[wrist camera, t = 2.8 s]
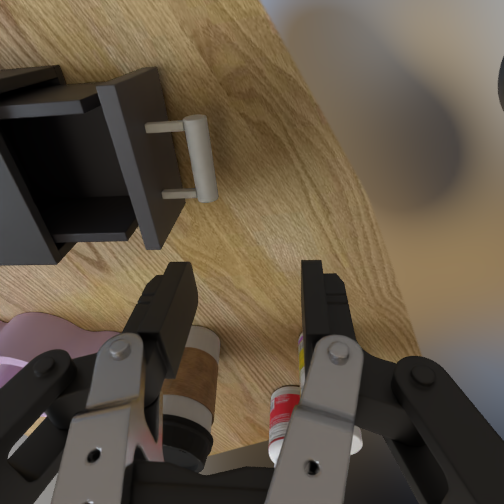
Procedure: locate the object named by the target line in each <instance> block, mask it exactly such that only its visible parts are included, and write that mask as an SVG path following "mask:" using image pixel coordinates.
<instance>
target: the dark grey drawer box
mask: <svg viewBox="0 0 504 504" xmlns="http://www.w3.org/2000/svg"><path fill="white" fill-rule="evenodd" d="M58 85H66V83H65V80H64V77H63V74H62V71H61V69H60V66H59V65H52V66H40V67H29V68H17V69H6V70H0V94H1V93H5V92H8V91H12V90H15V89H21V88H33V87H46V86H58ZM76 243H77V242H60V243H54V241H53V239H52V237H51V235H50V233H49V231H48V229H47V227H46V225H45V223H44V221H43V219H42V216H41V214H40V212H39V210H38V208H37V206H36V204H35V202H34V200H33V198H32V196H31V194H30V192H29V190H28V188H27V186H26V184H25V182H24V180H23V178H22V176H21V174H20V172H19V169H18V167H17V165H16V163H15V161H14V159H13V157H12V155H11V153H10V151H9V149H8V147H7V145H6V143H5V141H4V139H3V137H2V135H1V133H0V265H57V264H58V263H59V262H60V261H61V260H62V258H63V257H64V256H65V255H66V254H67V253H68V252H69V251H70V250H71V249H72V247H73V246H74V245H75V244H76Z"/></svg>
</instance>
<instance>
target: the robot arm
mask: <svg viewBox="0 0 504 504" xmlns="http://www.w3.org/2000/svg"><path fill="white" fill-rule="evenodd" d="M197 306H198V291H197V287H196V282H195V278H194V274H193V269H192V265H191V263H190V262H170V263H169V264H168V266H167V268H166V270H165V272H164V275H156V276H155V277H154V278H153V279H152V280H151V281H150V282H149V283H147V285H146V287H145V289H144V291H143V293H142V296H140V298H139V300H138V304H136V306H135V308H134V310H133V312H132V314H131V316H130V318H129V320H128V322H127V324H126V326H125V327H124V329H123V331H122V333H121V334H118V335H115V336H113V337H111V338H110V339H108V340H107V341H106V342H105V343H104V344H103V345H102V346H101V347H100V349H99V351H98V352H97V353H94V354H90V355H86V356H82V357H78V358H74V359H72V358H71V356H70V355H69V353H68V352H67V351H65V350H62V349H54V350H49V351H46V352H44V353H42V354H40V355H38V356H36V357H35V358H33V359H32V360H31V361H30V362H29V363H28V364H27V365H25V366H24V367H23V368H22V369H21V370H20V371H19V372H18V373H17V374H16V375H15V376H13V377H12V378H11V379H10V380H9V381H8V382H7V383H6V384H5V385H4V386H3V387H1V388H0V504H33V503H34V502H35V501H36V500H37V498H38V497H39V496H40V494H41V493H42V492H43V491H44V489H45V488H46V487H47V485H48V484H49V483H50V482H51V480H52V479H53V478H54V476H55V475H56V474H57V473H58V476H57V480H56V484H55V488H54V492H53V496H52V500H51V504H343V502H344V495H345V488H346V481H347V474H348V467H349V460H350V453H351V446H352V439H353V432H354V426H357V427H360V428H362V429H365V430H368V431H371V432H373V433H376V434H379V435H382V436H383V438H384V440H385V441H386V443H387V445H388V447H389V449H390V450H391V453H392V454H393V456H394V458H395V460H396V462H397V464H398V465H399V467H400V469H401V471H402V473H403V475H404V476H405V478H406V480H407V482H408V484H409V486H410V488H411V490H412V491H413V493H414V495H415V497H416V499H417V501H418V503H419V504H504V441H503V440H502V438H501V437H500V436H499V435H498V434H497V432H496V431H495V430H494V429H493V428H492V426H491V425H490V424H489V423H488V422H487V420H486V419H485V418H484V417H483V415H482V414H481V413H480V412H479V411H478V410H477V408H476V407H475V406H474V405H473V403H472V402H471V401H470V400H469V398H468V397H467V396H466V395H465V394H464V392H463V391H462V390H461V389H460V388H459V386H458V385H457V384H456V383H455V381H454V380H453V379H452V378H451V377H450V375H449V374H448V373H447V372H446V371H445V370H444V369H443V368H442V367H441V366H440V365H439V364H437V363H436V362H434V361H432V360H430V359H427V358H425V357H420V356H408V357H405V358H403V359H401V360H400V361H398V362H397V364H396V363H393V362H389V361H386V360H382V359H379V358H376V357H374V356H372V355H370V354H369V353H367V352H366V351H364V350H363V349H362V348H361V347H360V345H359V344H358V342H357V340H356V337H355V333H354V328H353V323H352V319H351V314H350V309H349V304H348V300H347V296H346V290H345V285H344V282H343V281H342V280H341V279H340V277H339V276H338V275H337V274H336V273H333V274H323V269H322V262H321V260H301V307H302V328H303V348H304V369H305V383H304V386H303V390H302V393H301V397H300V400H299V403H298V405H295V406H294V408H293V411H292V414H291V417H290V420H289V423H288V427H287V430H286V433H285V437H284V440H283V443H282V447H281V450H280V453H279V457H278V460H277V463H276V467H275V468H266V467H247V466H246V467H242V468H238V469H233V470H229V471H225V472H220V473H216V474H212V475H201V474H199V473H196V472H193V471H191V470H188V469H186V468H183V467H180V466H178V465H175V464H172V463H170V462H164V457H163V449H162V434H163V392H162V389H161V388H162V385H163V382H164V379H175V378H176V375H177V372H178V369H179V365H180V362H181V359H182V356H183V352H184V349H185V346H186V342H187V339H188V336H189V333H190V329H191V326H192V323H193V320H194V316H195V313H196V310H197ZM44 412H45V414H46V415H47V417H46V418H45V419H44V420H43V422H42V423H41V424H40V425H39V426H38V427H37V428H36V429H35V430H34V431H33V433H32V434H31V435H30V436H29V437H28V438H27V439H26V440H25V441H24V443H23V444H22V445H21V446H20V447H19V448H18V449H17V450H16V451H15V452H14V454H13V455H12V456H11V457H10V458H9V459H7V458H8V454H9V452H10V450H11V448H12V447H13V445H14V444H15V443H16V442H17V441H18V440H19V439H20V438H21V437H22V436H23V434H24V433H25V432H26V431H27V430H28V429H29V428H30V427H31V426H32V425H33V424H34V423H35V421H36V420H37V419H38V418H39V417H40V416H41V415H42V414H43V413H44ZM58 471H59V472H58Z"/></svg>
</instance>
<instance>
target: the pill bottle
mask: <svg viewBox="0 0 504 504" xmlns="http://www.w3.org/2000/svg"><path fill="white" fill-rule="evenodd" d="M299 400H300V387H296V386H287V387H282V388H279V389H277V390H276V391H275V392H274V393H273V394H272V397H271V410H270V432H269V456H270V458H271V460H272V461H273V462H274V463H275V465H274V468H275V467H276V463H277V460H278V457H279V453H280V450H281V447H282V443H283V440H284V437H285V433H286V430H287V427H288V423H289V420H290V417H291V414H292V411H293V408H294V406H295V405H298V403H299Z"/></svg>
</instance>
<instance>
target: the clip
mask: <svg viewBox="0 0 504 504" xmlns="http://www.w3.org/2000/svg"><path fill="white" fill-rule="evenodd" d="M118 334H121V333H118V332H114V331H99V332H91V331H87V330H84V329H81V328H79V327H77V326H76V325H74V324H73V323H71V322H69V321H67V320H65V319H62V318H60V317H57V316H54V315H50V314H46V313H39V312H28V313H23V314H19V315H17V316H15V317H14V318H12V319H11V320H10V321H9V323H4V322H2V321H0V388H1V387H3V386H4V385H5V384H6V383H7V382H8V381H9V380H10V379H11V378H12V377H13V376H15V375H16V374H17V373H18V372H19V371H20V370H21V369H22V368H23V367H24V366H25V365H27V364H28V363H29V362H30V361H31V360H32V359H33V358H35V357H36V356H38V355H40V354H42V353H44V352H46V351H49V350H54V349H62V350H65V351H67V352H68V353H69V355H70V356H71V358H72V359H74V358H78V357H82V356H86V355H90V354H94V353H97V352H98V351H99V349H100V347H101V346H102V345H103V344H104V343H105V342H106V341H107V340H108V339H110V338H111V337H113V336H115V335H118ZM41 416H46V417H47V415H46V414H45V412H44V413H43V414H42V415H41Z"/></svg>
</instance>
